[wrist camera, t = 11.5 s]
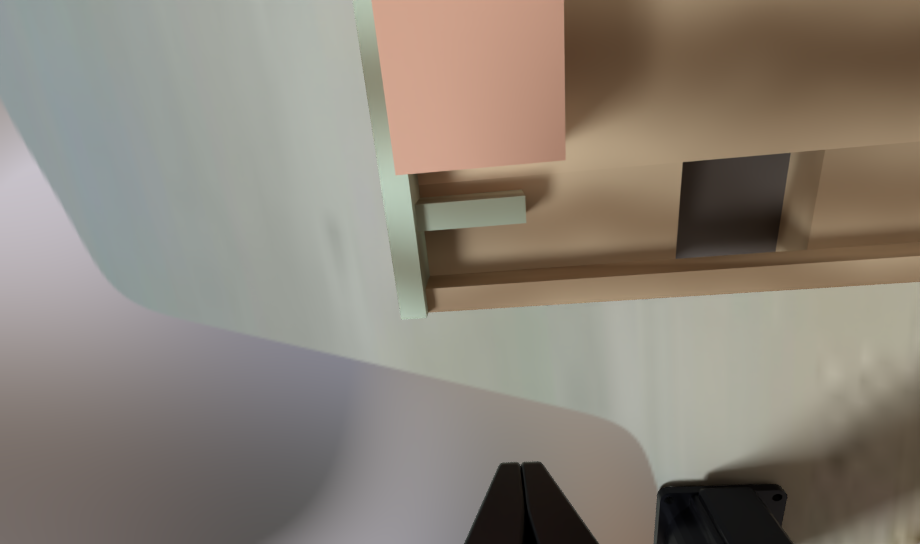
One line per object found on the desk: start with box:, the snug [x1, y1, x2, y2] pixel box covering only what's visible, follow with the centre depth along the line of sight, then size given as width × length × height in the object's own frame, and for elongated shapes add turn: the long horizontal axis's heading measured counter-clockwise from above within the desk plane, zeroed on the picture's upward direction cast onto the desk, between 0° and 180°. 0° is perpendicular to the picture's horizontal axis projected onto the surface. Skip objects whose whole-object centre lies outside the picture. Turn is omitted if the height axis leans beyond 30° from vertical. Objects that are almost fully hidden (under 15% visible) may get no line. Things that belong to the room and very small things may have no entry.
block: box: [371, 0, 566, 175], centre depth 14 cm, size 5×5×4 cm
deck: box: [353, 0, 920, 320], centre depth 15 cm, size 16×22×4 cm
